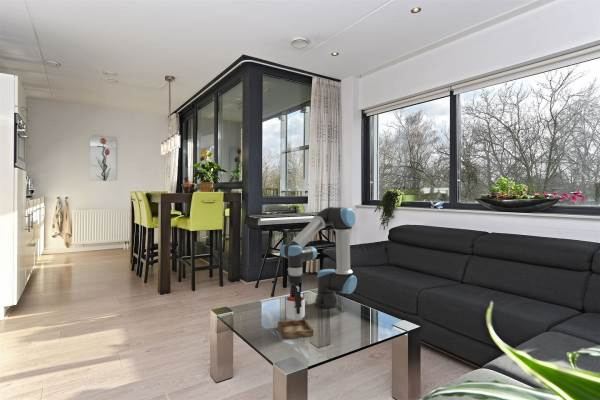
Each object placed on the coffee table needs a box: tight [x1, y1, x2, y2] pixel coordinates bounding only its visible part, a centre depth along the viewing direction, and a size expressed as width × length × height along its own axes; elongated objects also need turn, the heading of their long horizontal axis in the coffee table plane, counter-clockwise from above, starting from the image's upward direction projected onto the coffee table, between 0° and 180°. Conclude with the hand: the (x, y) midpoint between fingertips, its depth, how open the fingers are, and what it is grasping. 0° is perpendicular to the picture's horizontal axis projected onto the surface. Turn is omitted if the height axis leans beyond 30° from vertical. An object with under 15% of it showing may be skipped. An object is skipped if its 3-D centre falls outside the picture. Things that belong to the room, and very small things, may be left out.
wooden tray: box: [277, 318, 314, 340], centre depth 190 cm, size 16×16×3 cm
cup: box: [285, 296, 306, 321], centre depth 190 cm, size 10×10×10 cm
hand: (295, 315), depth 190 cm, fingers closed on cup, 10 cm apart
